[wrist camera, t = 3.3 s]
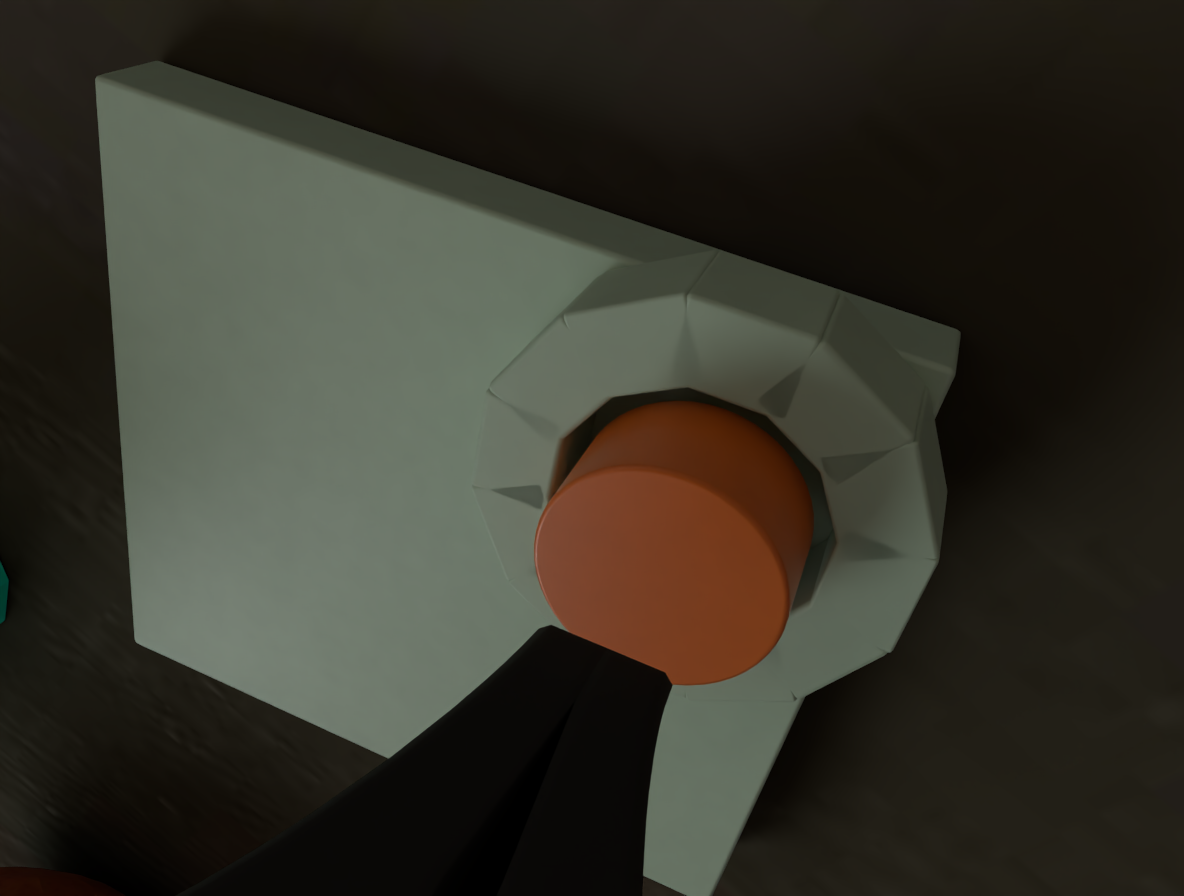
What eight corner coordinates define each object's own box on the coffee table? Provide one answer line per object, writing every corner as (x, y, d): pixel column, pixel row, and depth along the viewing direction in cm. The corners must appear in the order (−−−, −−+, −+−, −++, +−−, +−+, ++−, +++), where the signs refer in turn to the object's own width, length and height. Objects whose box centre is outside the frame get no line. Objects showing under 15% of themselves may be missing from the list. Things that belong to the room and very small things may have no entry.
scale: (1021, 306, 14) (1019, 407, 11) (751, 860, 21) (714, 997, 18) (155, 22, 16) (-1, 54, 14) (176, 603, 23) (76, 694, 21)
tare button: (850, 452, 13) (827, 529, 11) (772, 637, 14) (744, 724, 13) (607, 363, 13) (556, 427, 12) (562, 551, 15) (513, 627, 14)
